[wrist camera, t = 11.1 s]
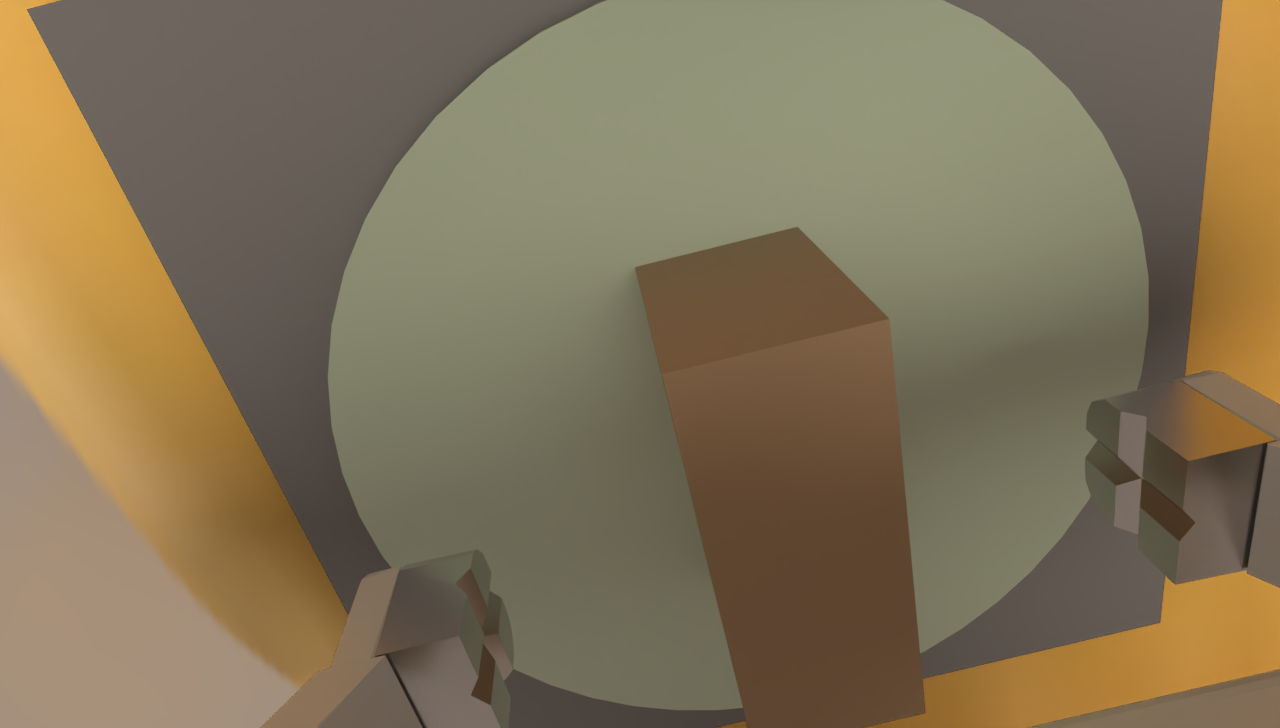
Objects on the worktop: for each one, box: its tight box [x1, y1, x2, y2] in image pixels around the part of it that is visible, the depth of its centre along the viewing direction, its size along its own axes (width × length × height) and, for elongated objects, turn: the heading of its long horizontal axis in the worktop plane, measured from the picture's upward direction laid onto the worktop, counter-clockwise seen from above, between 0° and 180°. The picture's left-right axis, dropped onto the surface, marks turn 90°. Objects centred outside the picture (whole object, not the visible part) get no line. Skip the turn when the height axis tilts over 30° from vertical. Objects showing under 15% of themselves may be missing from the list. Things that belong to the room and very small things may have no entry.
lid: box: [328, 0, 1149, 728], centre depth 11 cm, size 13×13×4 cm
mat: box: [27, 0, 1222, 728], centre depth 13 cm, size 16×16×1 cm
